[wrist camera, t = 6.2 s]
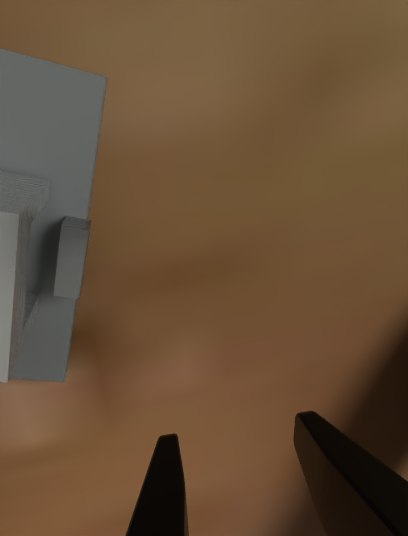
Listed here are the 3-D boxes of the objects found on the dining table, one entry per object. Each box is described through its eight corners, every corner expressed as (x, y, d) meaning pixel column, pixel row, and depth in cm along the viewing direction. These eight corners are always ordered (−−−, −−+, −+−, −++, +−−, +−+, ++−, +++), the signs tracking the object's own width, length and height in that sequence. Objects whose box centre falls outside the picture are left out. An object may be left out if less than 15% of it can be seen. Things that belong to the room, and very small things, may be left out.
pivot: (91, 220, 16) (87, 235, 14) (82, 283, 17) (77, 306, 15) (-37, 197, 15) (-59, 211, 13) (-38, 267, 16) (-59, 289, 14)
